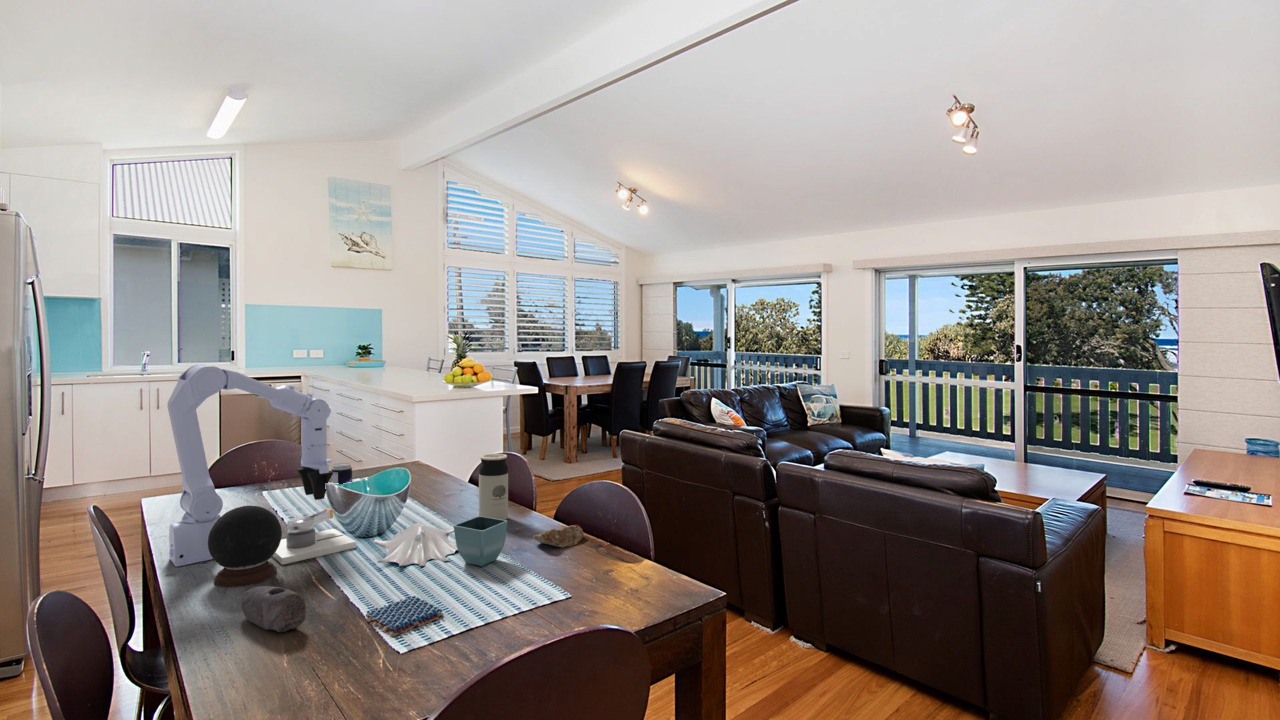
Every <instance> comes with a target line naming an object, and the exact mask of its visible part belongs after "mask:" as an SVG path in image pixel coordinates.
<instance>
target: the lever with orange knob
mask: <svg viewBox="0 0 1280 720" xmlns="http://www.w3.org/2000/svg"><path fill="white" fill-rule="evenodd" d="M333 518H334V509H333V508H325V509H323V510H322V511H319V512H316V513H315V514H311V515H310V516H302V517H296V518H292V519H289V520H287V522H286V523H287V524H286V525H287V527H286V528H287V529H286V530H287V532H286V533H289V534H303V533H308V532H311V531H313V530H314V529H315V525H316V526H317V525H318V524H321V523H323V522H325V521H328V520H330V519H333Z"/></svg>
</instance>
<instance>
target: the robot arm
mask: <svg viewBox="0 0 1280 720" xmlns="http://www.w3.org/2000/svg"><path fill="white" fill-rule="evenodd" d="M295 387H296V386H294V385H290V384H289V385H288V384H287V386H286V385H280V386H277V387H273V386H271V385H269V384H267V383H264V382H262V381H259V380H257V379H254V378H252V377H250V376H247V375H245V374H243V373H240V372H237V371H233V370H229V369H225V368H221V367H218V366H215V365H206V364H195V365H192V366H190V367H188V368H187V369H185V371H184V372H183V373H181V374H180V375H179V376H178V380H177V383H176V384H175V387H174V389H173V391H172V393H171V395H170V396H169V399H168V400H167V411H168V416H169V421H170V424H171V428H172V429H171V431H172V434H173V439H174V444H175V449H176V454H177V458H178V464H179V466H180V467H179V468H180V471H181V477H182V482H181V489H182V493H181V496H180V499H179V504H180V508H181V509H182V510H183V511H184V512H185V513H184V514H183V515H182V517H181V520H180V521H178V522H174V523H171V524H170V525H169V533H168V534H169V539H168V540H169V550H168V551H169V554H168V555H169V557H168V558H169V560H170V561H171V562H172V563H173V565H174V566H175V567H177V568H178V567H181V566H187V565H191V564H195V563H201V562H202V563H203V562H205V561H211V560H214V559H213V558H212V556H211V555H210V552H209V549H208V536H209V533H210V530H211V528H212V527H213V525H214V524H215V522H216V521H217V520H218V519H219V518H220V517H221V513H222V512H221V511H222V509H223V507H224V502H223V499H222V497H221V496H220V495H219V494H218V493H217V492H216V489H215V485H214V483H213V480H212V478H211V477H210V472H209V468H208V467H209V466H208V462H207V457H206V452H205V448H204V442H203V438H202V432H201V428H200V423H199V419H198V414H197V413H198V412H197V409H198V408H199V407H200V406H201V405H202V404H203V403H204V402H205V401H206V400H207V398H210V397H212V396H213V395H216V393H219V392H220V391H221V390H225V391H229V390H235V389H237V390H240V391H243V392H246V393H249V394H253V395H255V396H258V397H261V398H264V399H266V400H268V401H269V404H270V405H271V407H272V408H275V409H278V410H280V411H284V412H287V413H289V414H293V415H295V416H299V417H300V419H301V458H300V466H301V467H299V468H296V472H297V473H298V475H299V477H300V479H301V482H302V486H303V489H304V493H305V495H306V496H309V495H313V499H314V500H315V501H317V500H324V499H325V497H326V492H327V489H325V483H328V484H329V482H330V480H331V476H332V475H333V472H332V471H331V470H329V469H330V465H329V464H331V463H332V462H333V460H332V459H330V458H328V451H327V450H328V447H327V446H328V443H327V442H328V439H327V438H328V432H327V431H328V427H327V425H328V424H327V420H328V418H329V416H330V415H331V412H332V410H331V408H330V405H329V404H328V403H327V401H325V400H324V399H321V398H315V397H313V395H314V394H312V393H310V392H309V393H305V392H301V391H299V390H297V389H295Z"/></svg>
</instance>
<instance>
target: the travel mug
mask: <svg viewBox="0 0 1280 720" xmlns="http://www.w3.org/2000/svg"><path fill="white" fill-rule="evenodd" d="M479 459H480V461H481V463H480V465H479V467H478V516H484V517H489V518H495V519H502V520H507V519H508V518H509V466H508V464H507V462H506V461H507V459H508V455H507V454H505V453H487V454H485V453H484V454H482V455H480V456H479Z"/></svg>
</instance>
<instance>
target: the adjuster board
mask: <svg viewBox="0 0 1280 720" xmlns="http://www.w3.org/2000/svg"><path fill="white" fill-rule="evenodd" d="M285 534H286V536H285V537H286V538H281V541H280V544H279V547H278V549H277V550H276V552H275V553H274V554H273V556H272V558H274V559H275V560H276V561H277V562H279V563H280V564H281V565H287V564H292V563H297V562H301V561H304V560H307V559H309V560H310V559H313V558H317V557H321V556H322V557H323V556H326V555H330V554H334V553H335V554H336V553H339V552H343V551H347V550H352V549H356V548H357V541H356V540H354V539H352V538H351V537H349V536H348V535H346V534H345V533H343V532H341V531H339V530H337V529H336V528H331V529H325V530H321V531H317V532H316V529H315V528H314V530H313V531H311V532H308V533H303V534H289V533H287V532H286V533H285Z"/></svg>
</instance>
